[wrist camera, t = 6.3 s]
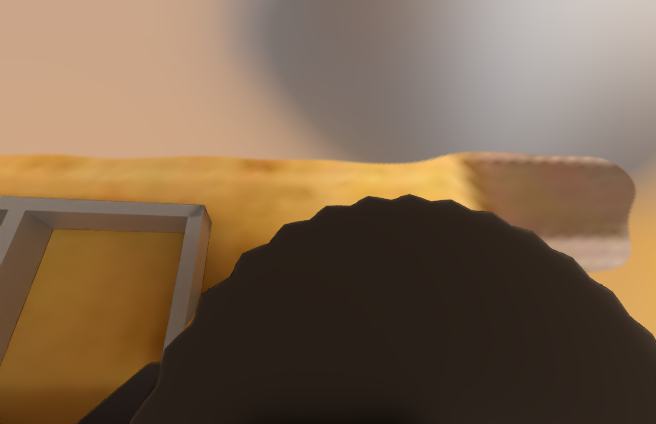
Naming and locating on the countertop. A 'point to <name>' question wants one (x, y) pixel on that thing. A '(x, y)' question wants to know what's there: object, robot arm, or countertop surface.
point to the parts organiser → (49, 213)
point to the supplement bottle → (406, 329)
